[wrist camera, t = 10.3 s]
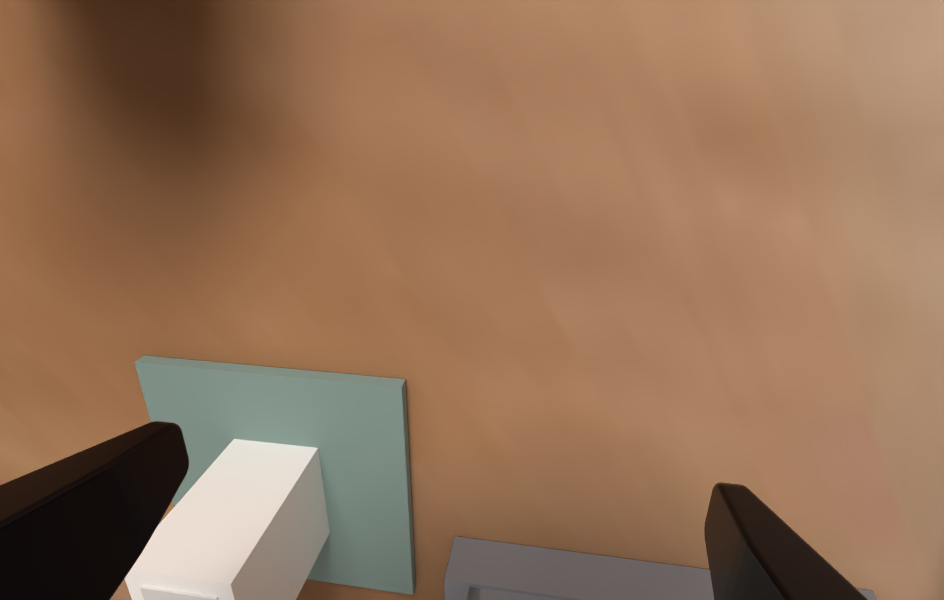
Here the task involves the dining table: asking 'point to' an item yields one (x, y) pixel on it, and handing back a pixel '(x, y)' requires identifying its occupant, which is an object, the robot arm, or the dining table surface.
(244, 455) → the charger
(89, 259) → the dining table surface
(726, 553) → the robot arm
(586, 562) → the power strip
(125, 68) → the dining table surface
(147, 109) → the dining table surface
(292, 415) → the rubber mat
